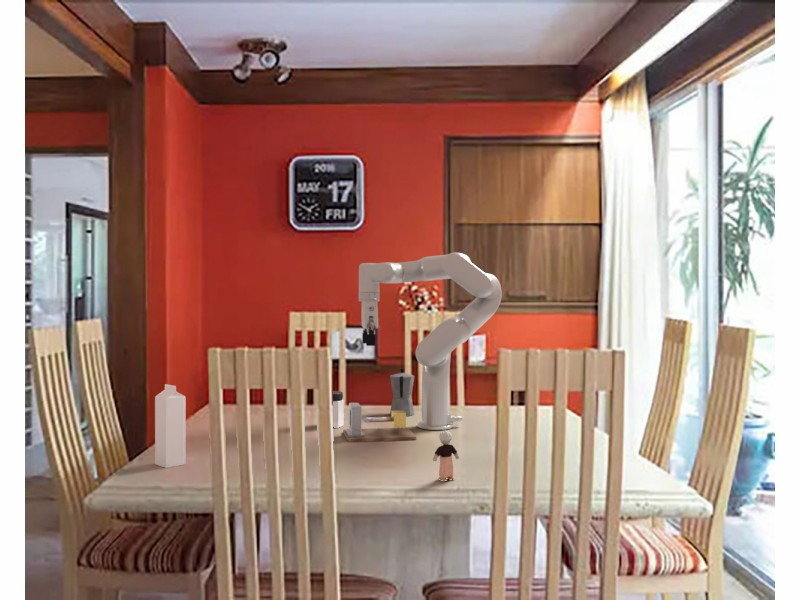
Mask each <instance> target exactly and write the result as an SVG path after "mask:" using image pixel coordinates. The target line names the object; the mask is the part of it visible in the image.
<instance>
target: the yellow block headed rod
mask: <svg viewBox="0 0 800 600" xmlns="http://www.w3.org/2000/svg"><path fill="white" fill-rule="evenodd" d="M390 411H391V410H390ZM390 415H391V416H373V417H370V416H369V417H367V416H366V417H364V418H363V419H362V421H363V422H364V423H389V422H390V424H391V426H392V428H407V427H406V426H407V416H406V412H404V411H403V410H398V411H391V414H390Z"/></svg>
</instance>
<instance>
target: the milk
mask: <svg viewBox="0 0 800 600" xmlns="http://www.w3.org/2000/svg"><path fill="white" fill-rule="evenodd" d="M186 406H187V405H186V396H185V395H184V394H182V393H180V392H178V391H177V386H176V385H172V384H167V383H165V384H164V389H163V390H162V391H161V392H160V393H158V394H156V396H155V397H154V431H155V433H154V459H155V460H154V465H156V466H159V467H162V468H165V469H169V468H174V467H178V466H179V467H180V466H185V465H186V452H187V451H186V448H187V447H186V442H187V441H186V439H187V438H186V428H187V427H186V420H187V419H186V418H187V417H186V413H187V412H186Z"/></svg>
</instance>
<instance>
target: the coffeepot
mask: <svg viewBox="0 0 800 600" xmlns="http://www.w3.org/2000/svg"><path fill="white" fill-rule="evenodd" d="M399 370H400V372H398V373H394V374H391V375H390V376H389V377H390V384H391V390H392V391H391V392H392V393H393V398H392V399H391V405H390V412H389V414H390V415H391V411H398V410H403V411H404V412H406V417H413V416H414V414H415V412H414V406H413V399H412V393H413V388H414V381H415V375H414V374H409V373H406V372H405V368H404V367H401V368H400V369H399Z"/></svg>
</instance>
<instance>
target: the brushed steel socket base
mask: <svg viewBox="0 0 800 600" xmlns="http://www.w3.org/2000/svg"><path fill="white" fill-rule="evenodd" d="M361 429H362V406H361V405H360V403H359V402H349V403H348V428H346V429H345V430H346V433H347V434H348V436H349V437H365V435H364V433H363V432H362V430H361Z"/></svg>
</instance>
